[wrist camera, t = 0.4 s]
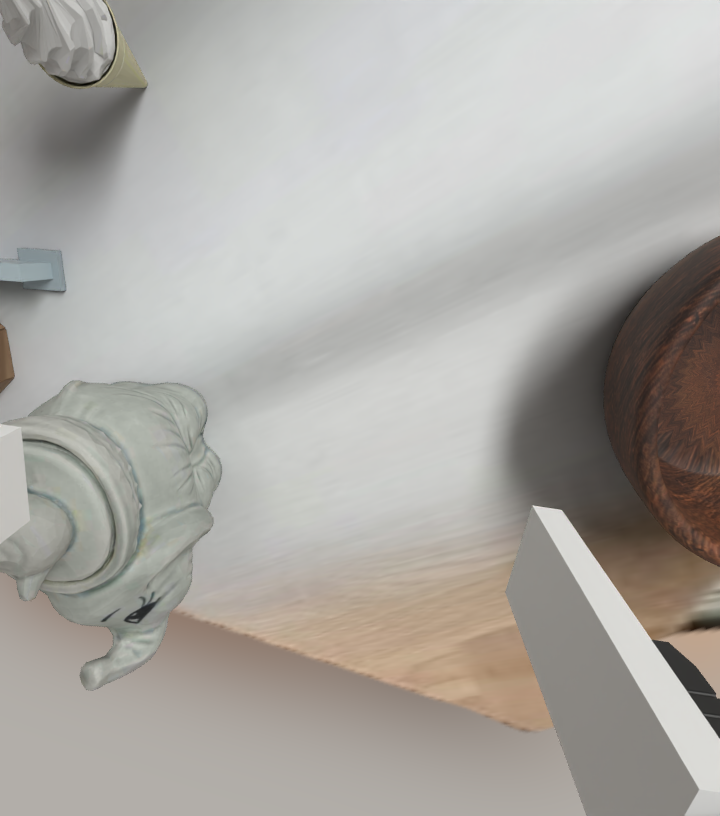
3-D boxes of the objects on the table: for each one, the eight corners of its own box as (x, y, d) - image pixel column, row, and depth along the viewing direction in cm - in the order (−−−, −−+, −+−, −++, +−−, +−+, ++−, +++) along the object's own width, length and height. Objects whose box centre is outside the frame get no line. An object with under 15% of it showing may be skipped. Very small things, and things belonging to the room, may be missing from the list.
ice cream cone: (150, 23, 31) (-39, -163, 17) (194, 100, 33) (52, -13, 19) (92, 66, 32) (-132, -76, 18) (137, 139, 34) (-40, 60, 19)
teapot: (206, 560, 45) (93, 763, 27) (59, 485, 43) (-166, 651, 25) (287, 425, 40) (214, 565, 23) (125, 333, 38) (-95, 408, 20)
